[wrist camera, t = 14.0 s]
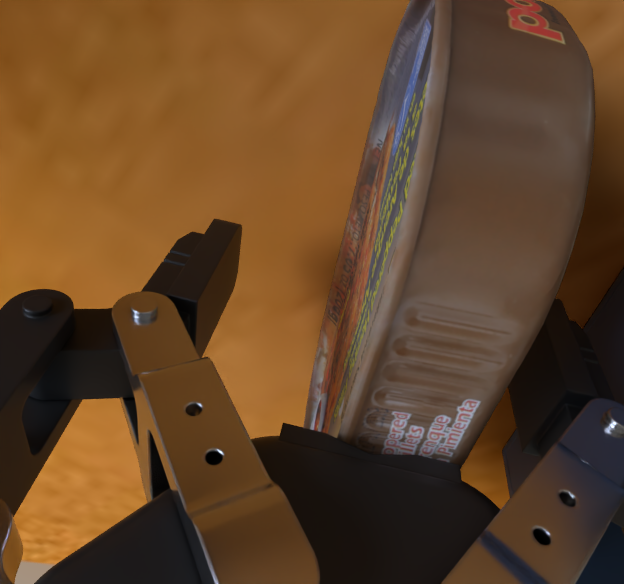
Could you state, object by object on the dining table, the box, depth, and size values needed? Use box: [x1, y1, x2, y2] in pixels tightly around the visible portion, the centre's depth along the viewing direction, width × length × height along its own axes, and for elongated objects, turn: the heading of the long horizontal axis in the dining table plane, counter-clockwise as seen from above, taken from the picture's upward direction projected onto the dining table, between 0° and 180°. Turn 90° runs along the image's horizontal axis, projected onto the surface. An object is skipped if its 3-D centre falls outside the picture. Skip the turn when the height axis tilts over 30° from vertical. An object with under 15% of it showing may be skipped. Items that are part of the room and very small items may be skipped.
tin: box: [303, 0, 595, 469], centre depth 13 cm, size 15×3×8 cm, turn 170°
